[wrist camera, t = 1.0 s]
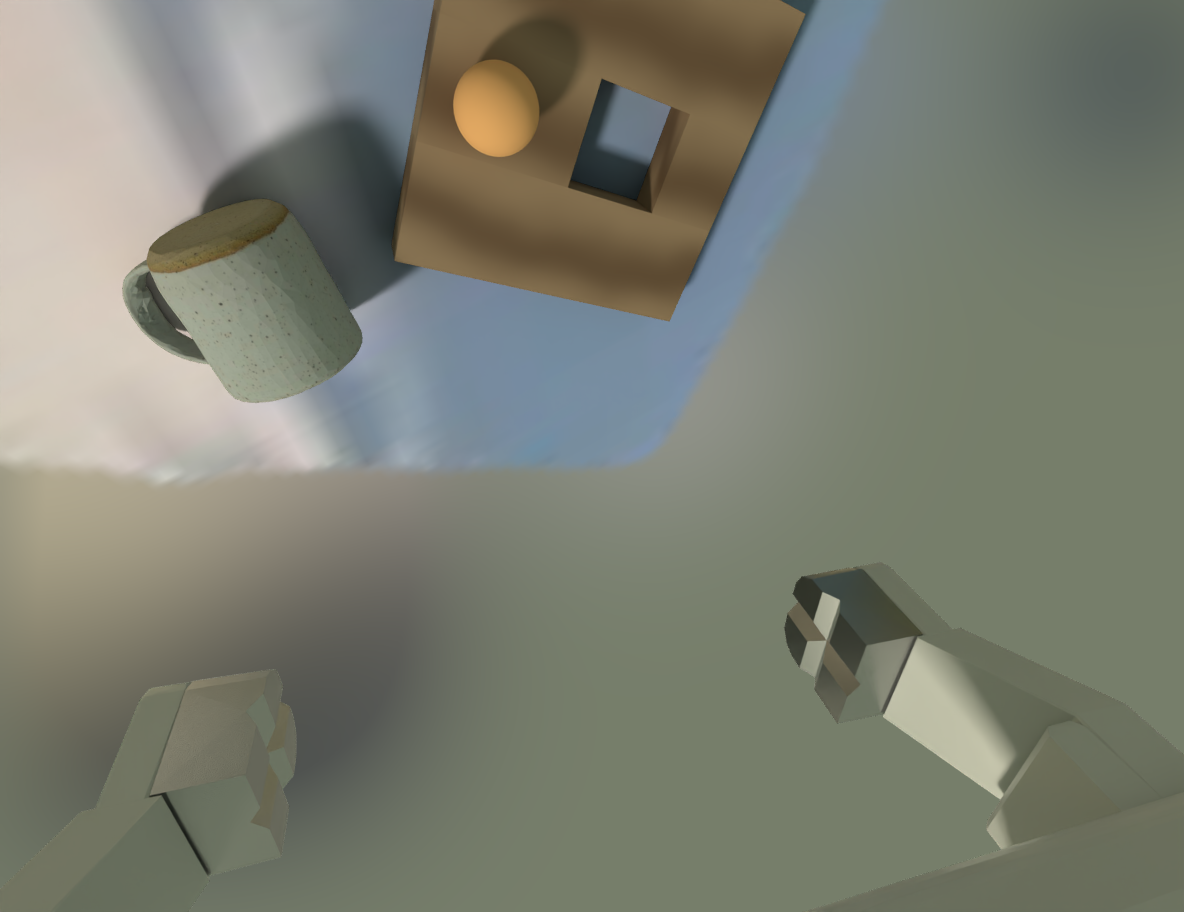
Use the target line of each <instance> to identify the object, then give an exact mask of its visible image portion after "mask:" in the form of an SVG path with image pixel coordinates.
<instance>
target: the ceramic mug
mask: <svg viewBox="0 0 1184 912" xmlns="http://www.w3.org/2000/svg"><path fill="white" fill-rule="evenodd" d="M149 271H150V272H151V275H152V277H153V279H154V281H155V283H156V286H157V288H158V290H159V292H160V293H161V295H162V296H163V298H164V299H165V301H166V302H167V303H168V305H169V306H170V307H171V309H172V310H173V311H174V313H175V314H176V315H177V317H178V318H179V319H180V321H181V322H182V323H183V325H184V326H185V328H186V329H187V331H188V332H189V334H190V335H191V337H192V338H193V339H191V338H189V337H187V336H186V335H183V334H181V333H180V332H178V331H177V330H176V329H175V328H174V327H173V326H171V325H170V324H169V322H168V321H167V320H166V319H165V317H164V316H163V314H162V313H161V311H160V309H159V308H158V306H157V304H156V303H155V301H154V300H153V298H152V294H151V292H150V291H149V289H148V288H147V287H146V276H147V274H148V272H149ZM122 289H123V299H124V302H125V304H126V307H127V309H128V311H129V313H130V315H131V316H132V318H133V319H134V321H135V322H136V324H137V325H138V327H139V328H140V329H141V330H142V331H143V333H145V334H146V335H147V336H148V337H149V338H150V339H151V340H152V341H153V342H155V343H156V344H157V345H158V346H160V347H161V348H163V349H164V350H166V351H168V352H170V353H171V354H173V355H176V356H178V357H181V358H183V359H186V360H189V361H193V362H198V363H203V364H209V365H210V366H211V367H212V369H213V370H214V372H215V373H216V375H217V376H218V378H219V379H220V381H221V382H222V384H223V385H224V387H225V388H226V390H227V391H228V392H229V393H230V394H231V395H232V396H233V397H234V398H235V399H237V400H240V401H243V402H250V403H259V402H270V401H275V400H279V399H283V398H287V397H290V396H293V395H296V394H299V393H301V392H303V391H305V390H307V389H310V388H312V387H314V386H316V385H319V384H321V383H322V382H324V381H326V380H328V379H330V378H331V377H333V376H334V375H336V374H337V373H338V372H340V371H341V370H342V369H343V368H344V367H345V366H346V365H347V364H348V363H349V362H350V361H351V360H352V359H353V358H354V357H355V356H356V354H357V352H358V351H359V349H360V347H361V344H362V332H361V330H360V328H359V326H358V324H357V322H356V320H355V319H354V317H353V315H352V314H351V312H350V310H349V308H348V307H347V305H346V303H345V301H344V299H343V298H342V296H341V294H340V292H339V290H338V289H337V287H336V285H335V283H334V281H333V280H332V278H331V276H330V275H329V273H328V271H327V270H326V268H325V266H324V265H323V263H322V261H321V259H320V257H319V255H318V253H317V252H316V250H315V248H314V246H313V244H312V242H311V241H310V239H309V237H308V235H307V234H306V232H305V230H304V229H303V227H302V226H301V225H300V223H299V222H298V221H297V220H296V218H295V217H294V216H293V214H292V213H291V212H290V211H289V210H288V209H287V208H286V207H285V206H284V205H282V204H280V203H277V202H275V201H272V200H268V199H254V200H248V201H244V202H239V203H235V204H232V205H228V206H225V207H222V208H219V209H216V210H213V211H211V212H208V213H206V214H203V215H201V216H198V217H196V218H194V219H191V220H189V221H187V222H185V223H183V224H181V225H179V226H177V227H175V228H173V229H172V230H170V231H168V232H167V233H165V234H164V235H162V236H161V237H159V238H158V239H157V240H156V241H155V242H154V243H153V244H152V245H151V247H150V248H149V252H148V256H147V260H145V261H144V262H142V263H141V264H139V265H138V266H136V267H135V268H134V269H133V270H132V271H131V272H130V273H129V274H128V275H127V276H126V277H125V279H124V282H123V288H122Z"/></svg>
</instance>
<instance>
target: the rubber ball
mask: <svg viewBox="0 0 1184 912" xmlns="http://www.w3.org/2000/svg"><path fill="white" fill-rule="evenodd" d="M453 109H454V116H455V120H456V123H457V126H458V128H459V130H460V132H461V134H462V135H463V137H464V138H465V139H466V141H467V142H468V143H469V144H470V145H471V146H472V147H474V148H475V149H476V150H478V151H479V152H481V153H483V154H486V155H489V156H494V157H505V156H510V155H513V154H515V153H517V152H519V151H520V150H522V149H523V148H524V147H525V146H526V145H527V144H528V143H529V142H530V141H531V139H532V137H533V136H534V134H535V132H536V129H537V126H538V121H539V102H538V98H537V94H536V92H535V89H534V87H533V85H532V83H531V82H530V80H529V79H528V77H527V76H526V75H525V74H524V73H523V72H522V71H521V70H520V69H519V68H517V67H516V66H514V65H512V64H510V63H508V62H505V61H501V60H485V61H482V62H479V63H477V64H475V65H473V66H472V67H470V68H469V69H468V70H467V71H466V72H465V73H464V74H463V76H462V77H461V79H460V80H459V82H458V84H457V87H456V90H455V94H454V100H453Z"/></svg>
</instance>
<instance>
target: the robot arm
mask: <svg viewBox="0 0 1184 912" xmlns="http://www.w3.org/2000/svg"><path fill="white" fill-rule="evenodd" d="M793 595H794V597H795V598H796V600H797V601H798V603H797V604H796V605H795V606H794V607H793V608H792V609H791V610H790V611H789V612H788V613H787V618H786V622H785V627H784V629H785V635H786V642H787V646H788V648H789V650H790V653H791V655H792V657H793V659H794V660H795V662H796V663H797V665H798V666H799V668H801V669H802V670H804V671H806V672H807V673H809V674H811V675H813V676H814V677H815V687H814V689H815V691H816V693H817V694H818V696H819V697H820V699H821V700H822V702H823V703H824V705H825V706H826V708H827V709H828V710H829V712H830V714H831V715H832V716H833V718H834V719H835V721H836V722H837V724H838V723H843V722H848V721H853V720H858V719H862V718H867V717H872V716H877V715H882V714H884V716H883V717H884V718H885V719H887V720H888V721H890V722H891V723H892V724H894V725H896V726H897V727H898V728H900V729H901V730H902V731H904V732H905V733H907V734H908V735H910V736H911V737H912V738H914V739H915V740H917V741H918V742H919V743H921V744H922V745H924V746H925V747H926V748H928V749H929V750H931V751H932V752H934V753H935V754H936V755H938V756H939V757H941V758H942V759H943V760H945V761H946V762H948V763H949V764H951V765H952V766H953V767H955V768H956V769H958V770H959V771H960V772H962V773H963V774H965V775H967V776H968V777H969V778H970V779H972V780H973V781H975V782H976V783H977V784H979V785H980V786H982V787H983V788H985V789H986V790H987V791H989V792H990V793H992V794H993V795H995V796H996V797H998V798H999V799H1000V801H999V803H998V804H997V806H996V807H995V809H994V810H993V812H992V813H991V815H990V817H989V818H988V820H987V828H986V830H987V831H988V832H989V834H990V835H991V836H992V838H993V839H994V840H995V842H996V843H997V844H998V845H999V847H1000V848H1001V849H1000V850H997V851H994V852H991V853H988V854H985V855H981V856H978V857H975V858H972V859H969V860H966V861H963V862H959V863H956V864H953V865H950V866H947V867H944V868H941V869H937V870H934V871H931V872H928V873H925V874H922V875H918V876H915V877H912V878H909V879H906V880H902V881H899V882H896V883H893V884H890V885H887V886H883V887H880V888H877V889H874V890H871V891H868V892H864V893H861V894H858V895H855V896H852V897H849V898H845V899H843V900H839V901H836V902H833V903H830V904H827V905H823V906H821V907H817V908H814V909H811V910H808V911H804V912H1184V754H1183V753H1181V752H1180V751H1179V750H1178V749H1177V748H1176V747H1175V746H1174V745H1172V744H1171V743H1170V742H1169V741H1168V740H1167V739H1165V738H1164V737H1163V736H1162V735H1161V734H1160V733H1159V732H1157V731H1156V730H1155V729H1154V728H1153V727H1152V726H1151V725H1149V724H1148V723H1147V722H1146V721H1145V720H1144V719H1142V718H1141V717H1140V716H1139V715H1138V714H1137V713H1136V712H1134V711H1133V710H1132V709H1131V708H1130V707H1129V706H1128V705H1126V704H1125V703H1123V702H1121V701H1118V700H1116V699H1114V698H1112V697H1110V696H1107V695H1105V694H1103V693H1101V692H1099V691H1096V690H1094V689H1092V688H1090V687H1088V686H1086V685H1083V684H1081V683H1079V682H1077V681H1075V680H1073V679H1070V678H1068V677H1066V676H1064V675H1062V674H1060V673H1057V672H1055V671H1053V670H1051V669H1049V668H1047V667H1044V666H1042V665H1040V664H1038V663H1036V662H1034V661H1031V660H1029V659H1027V658H1025V657H1023V656H1021V655H1018V654H1016V653H1014V652H1012V651H1010V650H1007V649H1005V648H1003V647H1001V646H999V645H996V644H994V643H992V642H990V641H988V640H986V639H984V638H981V637H979V636H977V635H975V634H973V633H970V632H968V631H966V630H964V629H962V628H957V629H952V628H951V627H950V626H949V625H948V624H947V623H946V622H945V621H944V620H943V619H942V618H941V617H940V616H939V615H938V614H937V613H936V612H935V611H934V610H933V609H932V608H931V607H930V606H929V605H928V604H927V603H926V602H925V601H924V600H923V599H922V598H920V596H919V595H918V594H917V593H916V592H915V591H914V590H913V589H912V588H911V587H910V586H909V585H908V584H907V583H906V582H905V581H904V580H903V579H902V578H901V577H900V576H899V575H898V574H897V573H896V572H895V571H894V570H893V569H891V567H889V566H888V565H886V564H884V563H882V562H879V563H874V564H868V565H862V566H856V567H853V568H844V569H839V570H834V571H828V572H823V573H818V574H812V575H807V576H802V577H801V578H800V579H799V580H798V581H797V582H796V584H795V588H794V591H793ZM282 688H283V685H282V683H281V680H280V677H279V675H278V673H277V670H272V669H270V670H263V671H257V672H250V673H243V674H237V675H230V676H223V677H217V678H210V679H203V680H197V681H192V682H188V683H181V684H174V685H168V686H162V687H155V688H150V689H149V690H148V691H147V692H146V694H145V695H144V696H143V697H142V698H141V699H140V701H139V703H138V706H137V708H136V710H135V713H134V715H133V718H132V720H131V723H130V725H129V727H128V730H127V732H126V735H125V737H124V740H123V742H122V744H121V747H120V749H119V752H118V754H117V756H116V759H115V761H114V764H113V766H112V769H111V771H110V774H109V776H108V779H107V781H106V784H105V786H104V788H103V791H102V793H101V795H100V798H99V800H98V803H97V805H96V807H95V809H92V810H88V811H83V812H81V813H79V814H78V815H77V816H76V817H75V818H74V819H73V820H72V821H71V822H70V823H69V824H68V825H67V826H66V827H65V828H64V829H63V830H61V831H60V833H58V834H57V835H56V836H55V837H54V838H53V839H52V840H51V841H50V842H49V843H48V844H47V845H46V846H45V847H44V848H43V849H42V850H40V852H38V853H37V854H36V855H35V856H34V857H33V858H32V859H31V860H30V861H29V862H28V863H27V864H26V865H25V866H24V867H23V868H22V869H21V870H20V871H18V872H17V873H16V874H15V875H14V877H12V878H11V879H10V880H9V881H8V882H7V883H6V884H5V885H4V886H3V887H2V888H1V889H0V912H189V910H190V909H191V907H192V906H193V904H194V903H195V902H196V900H197V899H198V897H199V896H200V894H201V893H202V891H203V890H204V888H205V887H206V886H207V884H208V883H209V881H210V879H209V877H208V876H212V875H216V874H219V873H223V872H227V871H231V870H234V869H238V868H242V867H245V866H249V865H253V864H257V863H260V862H264V861H268V860H272V859H275V858H279V857H282V850H283V843H284V837H285V830H286V824H287V817H288V810H289V805H288V803H287V800H286V797H285V795H284V793H283V788H284V787H285V786H286V784H287V783H288V782H289V780H290V779H291V778H292V777H293V776H294V769H295V761H296V729H295V723H294V718H293V715H292V712H291V708H290V707H289V706H288V705H286V704H284V703H282V702H280V699H281V693H282Z"/></svg>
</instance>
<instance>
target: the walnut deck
mask: <svg viewBox="0 0 1184 912" xmlns="http://www.w3.org/2000/svg"><path fill="white" fill-rule="evenodd" d="M805 15H806V14H804V13H803V12H801V11H799V10H797V9H795V8H793V7H792V6H790V5H788V4H786V3H784V2H782V1H781V0H434V6H433V12H432V17H431V23H430V29H429V34H428V40H427V46H426V51H425V57H424V63H423V68H422V74H421V80H420V85H419V91H418V97H417V102H416V108H415V114H414V119H413V125H412V131H411V136H410V142H409V148H408V153H407V159H406V165H405V170H404V176H403V182H402V187H401V193H400V199H399V204H398V210H397V216H396V221H395V227H394V233H393V238H392V244H391V245H392V250H393V255H394V260H395V261H397V262H402V263H406V264H411V265H415V266H420V267H424V268H429V269H433V270H438V271H442V272H447V273H452V274H456V275H461V276H465V277H470V278H474V279H479V280H483V281H488V282H493V283H497V284H502V285H506V286H511V287H515V288H520V289H524V290H529V291H533V292H538V293H543V294H547V295H552V296H556V297H561V298H565V299H570V300H574V301H579V302H583V303H588V304H593V305H597V306H602V307H606V308H611V309H615V310H620V311H624V312H629V313H633V314H638V315H643V316H647V317H652V318H656V319H661V320H665V321H670V319H671V317H672V314H673V312H674V310H675V308H676V305H677V303H678V301H679V299H680V296H681V294H682V292H683V290H684V287H685V285H686V283H687V281H688V278H689V276H690V274H691V272H692V269H693V267H694V265H695V263H696V260H697V258H698V256H699V254H700V251H701V249H702V247H703V245H704V242H705V240H706V238H707V236H708V233H709V231H710V229H711V226H712V224H713V222H714V220H715V217H716V215H717V213H718V211H719V208H720V206H721V204H722V202H723V199H724V197H725V195H726V193H727V190H728V188H729V186H730V184H731V181H732V179H733V177H734V175H735V172H736V170H737V168H738V166H739V163H740V161H741V159H742V157H743V154H744V152H745V150H746V148H747V145H748V143H749V141H750V139H751V136H752V134H753V132H754V130H755V127H756V125H757V123H758V121H759V118H760V116H761V114H762V112H763V109H764V107H765V105H766V103H767V100H768V98H769V96H770V93H771V91H772V89H773V87H774V84H775V82H776V80H777V78H778V75H779V73H780V71H781V69H782V66H783V64H784V62H785V60H786V57H787V55H788V53H789V51H790V48H791V46H792V44H793V42H794V39H795V37H796V35H797V33H798V30H799V28H800V26H801V24H802V21H803V19H804V17H805ZM485 60H501V61H505V62H508V63H510V64H512V65H514V66H516V67H517V68H519V69H520V70H521V71H522V72H523V73H524V74H525V75H526V76H527V77H528V79H529V80H530V82H531V83H532V85H533V87H534V89H535V92H536V94H537V98H538V102H539V121H538V126H537V129H536V132H535V134H534V136H533V137H532V139H531V141H530V142H529V143H528V144H527V145H526V146H525V147H524V148H523V149H522V150H520V151H519V152H517V153H515V154H513V155H510V156H505V157H494V156H489V155H486V154H483V153H481V152H479V151H478V150H476V149H475V148H474V147H472V146H471V145H470V144H469V143H468V142H467V141H466V139H465V138H464V137H463V135H462V134H461V132H460V130H459V128H458V126H457V123H456V120H455V116H454V109H453V100H454V94H455V90H456V87H457V84H458V82H459V80H460V79H461V77H462V76H463V74H464V73H465V72H466V71H467V70H468V69H469V68H470V67H472V66H473V65H475V64H477V63H479V62H482V61H485ZM601 79H604V80H607V81H609V82H612V83H614V84H617V85H619V86H621V87H624V88H626V89H629V90H631V91H634V92H636V93H639V94H641V95H644V96H646V97H649V98H651V99H654V100H656V101H659V102H661V103H663V104H666V105H668V106H671V109H670V112H669V115H668V117H667V120H666V123H665V125H664V128H663V131H662V134H661V136H660V139H659V142H658V144H657V147H656V150H655V152H654V155H653V158H652V160H651V163H650V166H649V168H648V171H647V174H646V176H645V179H644V182H643V185H642V187H641V190H640V193H639V195H638V198H637V201H636V200H633V199H630V198H627V197H624V196H620V195H617V194H614V193H611V192H608V191H605V190H601V189H598V188H595V187H592V186H589V185H585V184H582V183H579V182H576V181H573V180H570V179H571V175H572V172H573V169H574V166H575V163H576V159H577V156H578V153H579V150H580V147H581V143H582V140H583V137H584V134H585V131H586V127H587V124H588V121H589V118H590V115H591V111H592V108H593V105H594V102H595V99H596V95H597V92H598V89H599V86H600V83H601Z"/></svg>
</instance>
